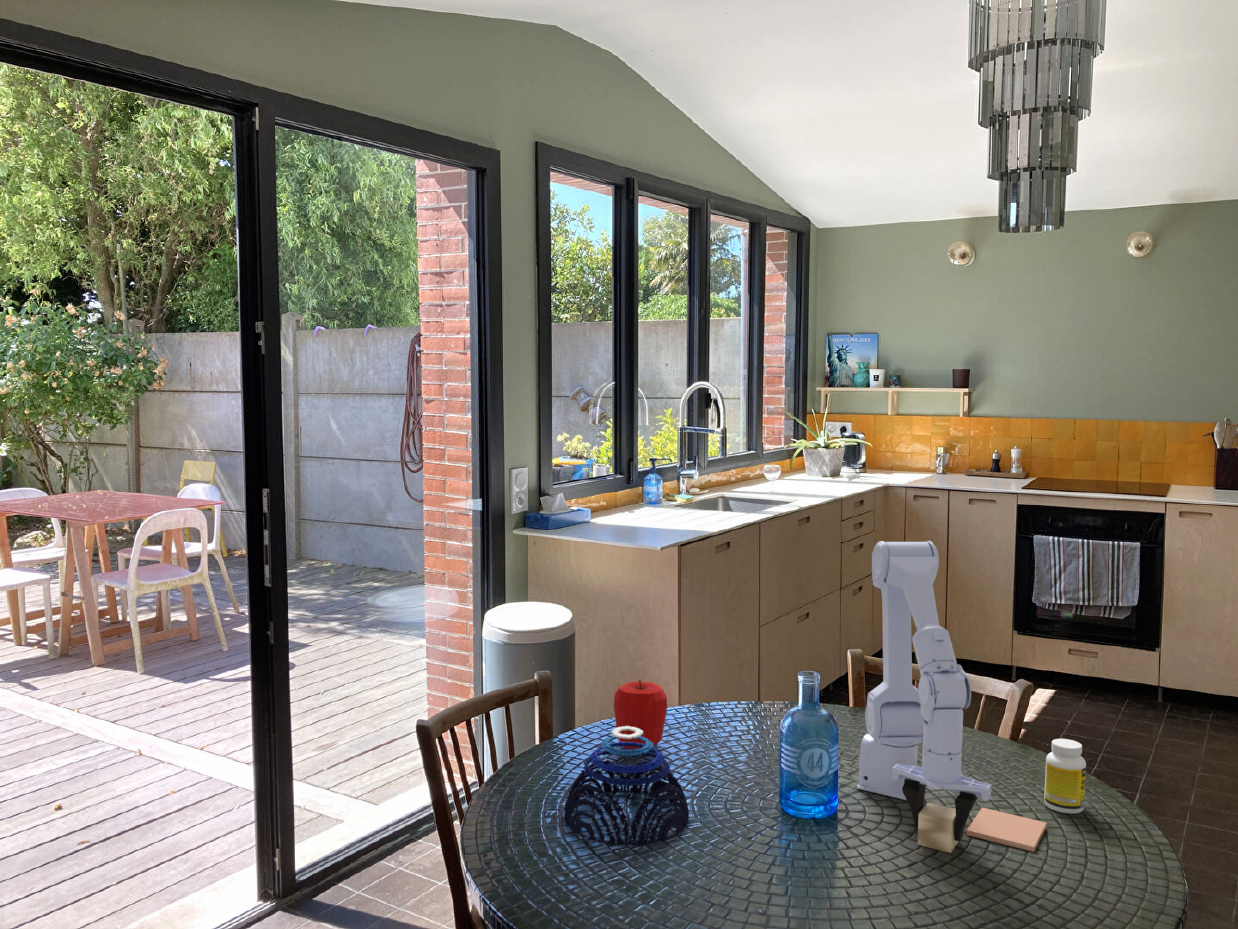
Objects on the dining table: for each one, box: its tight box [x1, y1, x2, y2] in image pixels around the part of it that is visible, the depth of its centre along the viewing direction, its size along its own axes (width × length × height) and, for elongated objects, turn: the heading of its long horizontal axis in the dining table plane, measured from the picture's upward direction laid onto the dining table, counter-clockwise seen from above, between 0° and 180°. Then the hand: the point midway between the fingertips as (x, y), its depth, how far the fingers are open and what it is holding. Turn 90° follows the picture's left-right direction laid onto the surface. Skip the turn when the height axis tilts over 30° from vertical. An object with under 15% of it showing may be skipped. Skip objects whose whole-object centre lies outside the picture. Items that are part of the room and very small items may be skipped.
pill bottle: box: [1043, 738, 1087, 815], centre depth 167 cm, size 6×6×11 cm
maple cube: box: [917, 802, 959, 854], centre depth 154 cm, size 5×5×5 cm
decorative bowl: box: [563, 726, 690, 846], centre depth 161 cm, size 20×20×14 cm
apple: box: [613, 679, 668, 749], centre depth 191 cm, size 11×10×14 cm
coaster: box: [966, 807, 1047, 853], centre depth 158 cm, size 10×10×1 cm
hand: (938, 833), depth 154 cm, fingers open, 5 cm apart
